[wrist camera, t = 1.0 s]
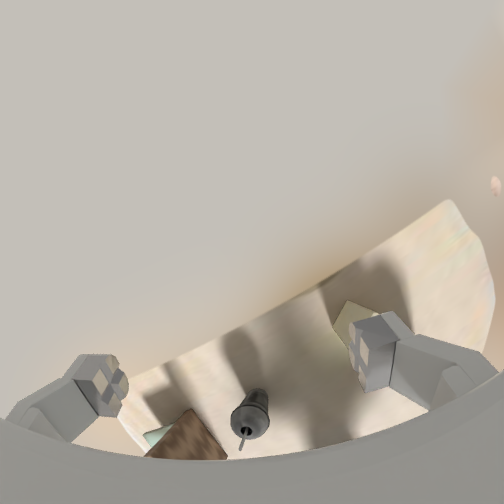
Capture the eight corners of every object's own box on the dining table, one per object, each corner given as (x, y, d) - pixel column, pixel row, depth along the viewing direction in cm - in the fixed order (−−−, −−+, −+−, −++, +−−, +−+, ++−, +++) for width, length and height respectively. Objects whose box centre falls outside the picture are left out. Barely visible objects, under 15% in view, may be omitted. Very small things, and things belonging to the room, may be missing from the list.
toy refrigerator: (328, 330, 54) (347, 357, 34) (346, 299, 54) (374, 309, 34) (360, 346, 53) (391, 378, 32) (377, 315, 53) (417, 333, 32)
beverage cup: (277, 387, 55) (269, 433, 35) (269, 414, 54) (258, 465, 34) (245, 379, 56) (223, 421, 36) (238, 406, 55) (215, 453, 36)
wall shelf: (227, 455, 54) (202, 511, 33) (191, 466, 55) (159, 515, 33) (191, 408, 57) (150, 455, 35) (156, 421, 58) (111, 463, 36)
